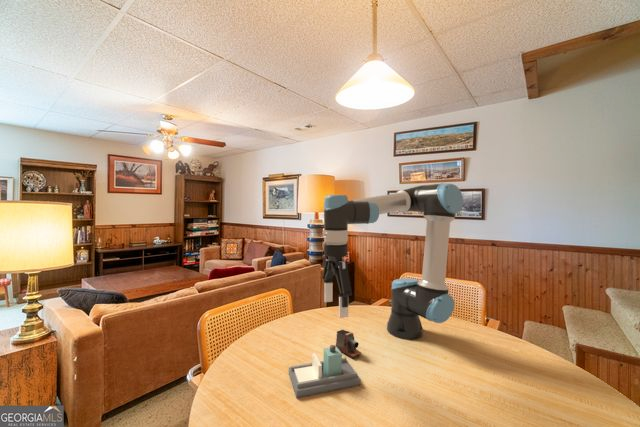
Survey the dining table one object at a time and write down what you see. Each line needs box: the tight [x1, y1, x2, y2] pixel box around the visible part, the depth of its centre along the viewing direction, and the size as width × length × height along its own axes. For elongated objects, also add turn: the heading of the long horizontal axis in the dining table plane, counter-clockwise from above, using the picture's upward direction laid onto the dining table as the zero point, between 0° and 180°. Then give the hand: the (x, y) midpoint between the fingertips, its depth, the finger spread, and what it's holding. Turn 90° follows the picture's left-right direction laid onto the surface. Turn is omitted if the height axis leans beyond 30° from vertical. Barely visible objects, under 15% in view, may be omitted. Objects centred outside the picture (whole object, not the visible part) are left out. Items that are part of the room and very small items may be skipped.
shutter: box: [294, 353, 322, 383], centre depth 84 cm, size 7×7×5 cm
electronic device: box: [335, 329, 362, 359], centre depth 102 cm, size 4×10×8 cm, turn 40°
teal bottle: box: [323, 344, 343, 377], centre depth 87 cm, size 4×4×10 cm
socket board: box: [288, 357, 361, 399], centre depth 86 cm, size 20×12×3 cm, turn 107°
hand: (335, 308), depth 87 cm, fingers open, 13 cm apart
